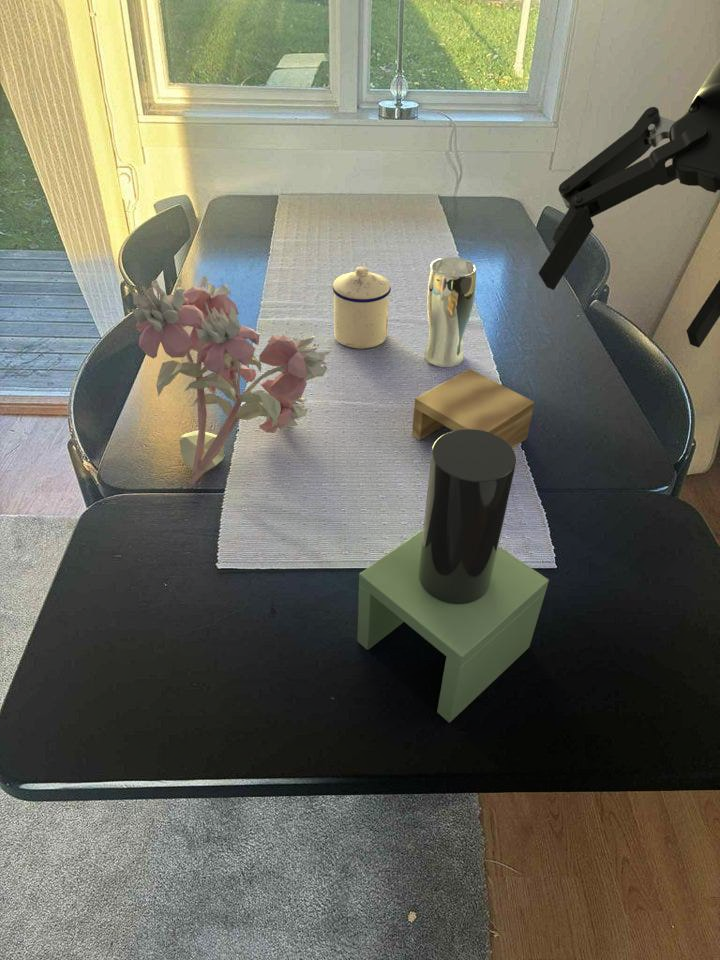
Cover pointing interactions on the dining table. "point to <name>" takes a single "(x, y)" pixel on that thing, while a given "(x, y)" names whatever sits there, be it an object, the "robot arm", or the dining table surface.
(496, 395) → the low shelf
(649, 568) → the dining table surface
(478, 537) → the dark grey cylinder
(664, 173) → the robot arm
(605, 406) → the dining table surface
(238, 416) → the flower
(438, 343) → the beer glass
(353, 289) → the teacup with lid
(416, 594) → the green step stool
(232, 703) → the dining table surface
